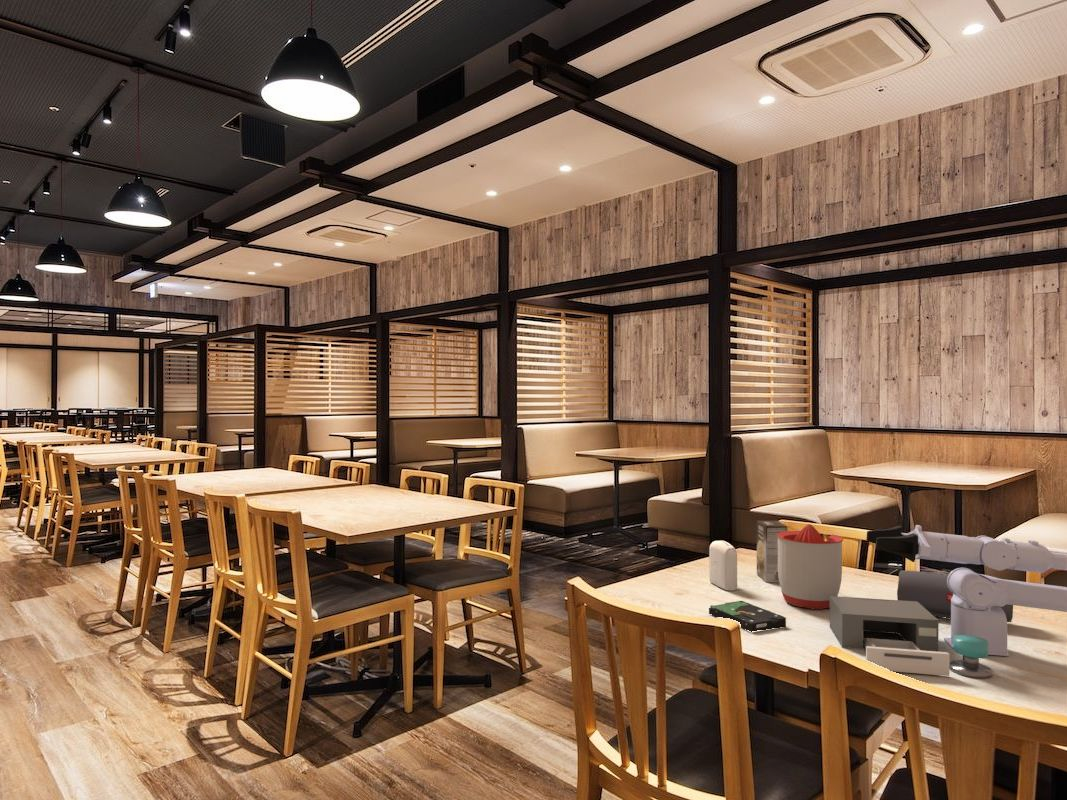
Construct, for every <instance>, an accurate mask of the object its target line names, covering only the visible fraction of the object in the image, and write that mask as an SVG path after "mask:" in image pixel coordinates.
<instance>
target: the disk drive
mask: <svg viewBox="0 0 1067 800" xmlns="http://www.w3.org/2000/svg"><path fill="white" fill-rule="evenodd" d="M709 606H710V607H709V608H708V615H709V614H712V617H713V618H716V617H723V618H730V619H733V620H736V621H738V622H740V624H741V628H742V629H741V628H740V629H741V630H744V631H746V630H749V631H751V632H752V631H757V630H766V629H772V628H778V629H781V628H780V627H784V628H786V627H787V617H785V616H783V615H781V614H777V613H776V612H772V611H771V610H767V609H766V608H762V607H759V606H757V605H753V604H751V603H749V602H746V601H743V600H736V601H732V602H731V601H730V602H725V603H721V604H716V605H713V604H712V605H709ZM745 629H746V630H745ZM772 630H773V629H772ZM766 631H767V630H766Z"/></svg>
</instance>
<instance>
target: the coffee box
mask: <svg viewBox="0 0 1067 800" xmlns="http://www.w3.org/2000/svg"><path fill="white" fill-rule="evenodd" d="M785 531H789V529H788V526H787V525H786V524H785V523H782V522H781V521H779V520H756V575H757V576H758V577H759V578H760V579H761V578H762V581H764V582H765V583H780V582H779V577H778V536H777V534H778V533H780V532H785Z"/></svg>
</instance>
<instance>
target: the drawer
mask: <svg viewBox="0 0 1067 800" xmlns="http://www.w3.org/2000/svg"><path fill="white" fill-rule="evenodd" d="M863 647H865V661H866V660H868V661H870V662H873V663H875V664H877V665H879V666H882V667H884V668H887V669H889V670H892V671H891V672H898V673H908V674H909V673H911V674H921V675H931V676H944V677H950V669H949V662H950V653H949V652H947V651H946V652H945V651H938V652H936V651H923V650H920V649H919V648H918V647H917V646H916V645H915V644H914V643H913V642H912V641H905V640H901V639H900V640H899V639H888V638H874V637H866V638H864V637H863Z"/></svg>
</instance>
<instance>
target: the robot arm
mask: <svg viewBox="0 0 1067 800" xmlns="http://www.w3.org/2000/svg"><path fill="white" fill-rule="evenodd" d="M865 540H866V542H870V543H871V544H875V548H876V549H877V550H881V551H884V552H888V553H891V554H895V555H898V556H900V557H903V558H905V559H906V560H909V561H910V562H912V563H915V562H916V560H921V559H922V560H930V561H937V562H946V563H954V564H963V565H966V564H967V565H968V564H970V565H971V564H972V565H983V566H985V567H987V568H990V569H992V570H996V571H997V572H998V571H999V572H1000V571H1004V570H1006V569H1008V570H1015V571H1021V572H1022V571H1023V572H1030V573H1031V572H1032V573H1037V574H1043V573H1045V572H1047V571H1049V570H1050V569H1055V570H1060V571H1061V570H1062V571H1067V553H1065V552H1056V551H1050V550H1049V549H1048V548H1047V547H1046V546H1045V545H1044V544H1040V543H1039V541H1037V540H1032V539H1029V540H1027V542H1023V541H1015V540H1014V541H1013V540H1011V539H1010V538H1008V537H1002V538H1001V540H999V539H998V540H997V539H996V538H993V537H990V536H987V535H978V536H976V537H975V536H967V535H961V534H960V535H958V534H951V533H942V532H933V531H923V527H922V526H921V525H920V524H915V527H914V529H913V530H912V531H910V532H908V533H905V532H903V526H901V525H895V526H894V527H890V528H886V529H874V530H867V531H866V539H865ZM947 575H948V578H947V585H948V588H949V590H950V591H951V592H952V593H953V597H952V599H951V619H950V637H943V640H944V642H945V643H946V644H947V645H948V646H949V647H951V648H952V649H953V650H954V636H955V635H971V636H976V637H980V638H983V639H985V640H987V641H988V656H989V655H990V656H999V657H1000V656H1001V657H1009V656H1010V654H1009V652H1008V622H1007V618H1006V615H1005V612H1004V611H1003V609H1002V608H1000V607H1003V606H1005V605H1006V604H1008V605H1013V606H1016V607H1017V606H1018V607H1025V608H1031V609H1039V610H1048V611H1056V612H1062V613H1067V586H1060V585H1053V584H1045V583H1036V582H1026V581H1022V580H1020V581H1019V580H1013V579H1011V580H1010V579H1003V578H999V577H996V576H990V575H988V574H981V573H977V572H975V571H974V570H972V569H970V568H967V567H957V568H955V569H953V570H951V571H950V572H949V573H948V574H947ZM994 606H999V607H994Z"/></svg>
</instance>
